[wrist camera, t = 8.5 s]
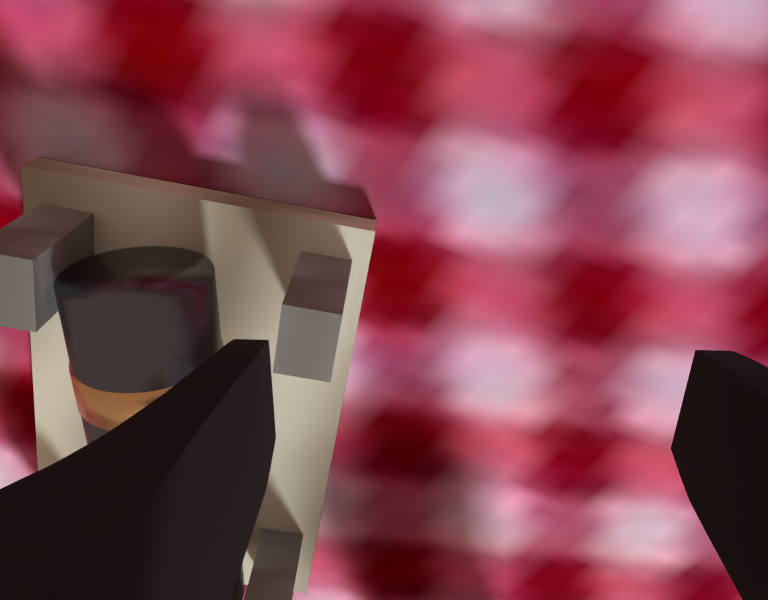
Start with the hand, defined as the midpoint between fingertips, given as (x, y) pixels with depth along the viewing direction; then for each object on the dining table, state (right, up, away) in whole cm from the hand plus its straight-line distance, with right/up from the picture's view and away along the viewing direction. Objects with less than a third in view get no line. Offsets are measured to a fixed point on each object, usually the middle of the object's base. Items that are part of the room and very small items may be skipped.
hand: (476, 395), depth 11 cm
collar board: (-8, -2, +12) cm, 14 cm away
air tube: (-8, -2, +11) cm, 14 cm away
